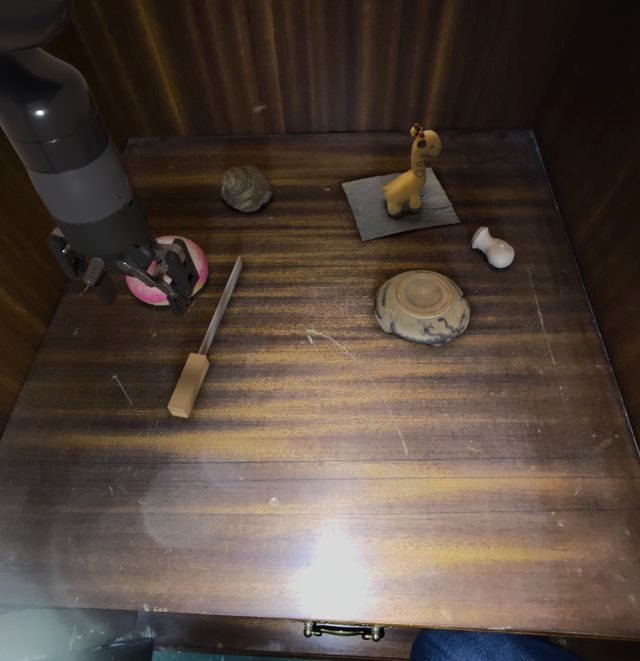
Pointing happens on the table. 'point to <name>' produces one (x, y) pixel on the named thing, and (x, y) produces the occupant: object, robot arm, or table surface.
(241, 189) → the seashell
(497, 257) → the smooth white sculpture
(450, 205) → the stuffed giraffe
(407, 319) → the decorative bowl
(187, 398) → the knife
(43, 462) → the table surface
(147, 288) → the donut
